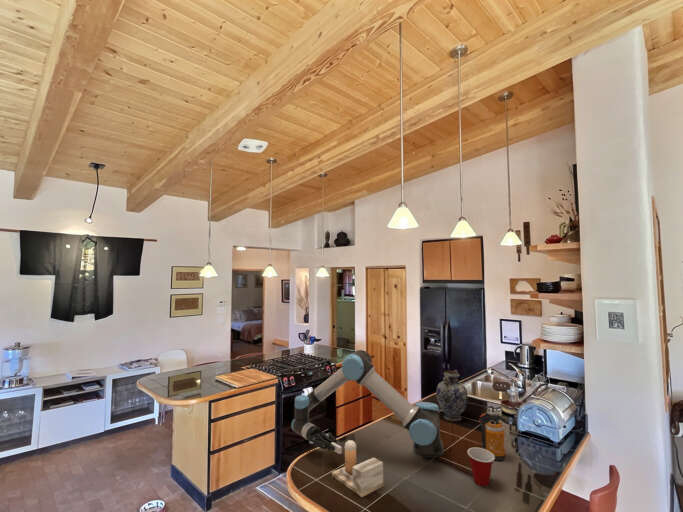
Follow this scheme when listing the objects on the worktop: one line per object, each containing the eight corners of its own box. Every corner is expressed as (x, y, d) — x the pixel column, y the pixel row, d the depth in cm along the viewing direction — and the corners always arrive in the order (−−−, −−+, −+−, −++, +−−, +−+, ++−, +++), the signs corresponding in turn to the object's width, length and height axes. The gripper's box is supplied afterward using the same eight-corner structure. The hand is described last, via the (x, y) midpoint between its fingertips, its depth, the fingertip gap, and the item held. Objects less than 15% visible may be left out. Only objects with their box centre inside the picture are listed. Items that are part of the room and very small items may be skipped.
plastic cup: (488, 493, 141) (487, 462, 142) (463, 482, 149) (462, 453, 150) (500, 482, 148) (499, 453, 149) (476, 472, 156) (474, 444, 157)
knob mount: (331, 475, 155) (331, 453, 156) (352, 466, 163) (352, 445, 163) (361, 497, 140) (361, 472, 140) (383, 485, 147) (382, 462, 148)
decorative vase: (443, 409, 231) (442, 365, 233) (472, 415, 220) (471, 370, 222) (431, 420, 214) (430, 373, 215) (462, 427, 203) (461, 378, 204)
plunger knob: (342, 472, 155) (342, 440, 156) (351, 468, 158) (351, 436, 159) (350, 477, 151) (349, 444, 152) (359, 473, 154) (358, 441, 155)
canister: (507, 462, 164) (506, 418, 166) (482, 460, 166) (481, 416, 168) (503, 453, 173) (501, 411, 174) (479, 451, 175) (477, 409, 177)
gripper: (322, 437, 183) (351, 454, 164) (301, 444, 175) (329, 463, 156) (322, 422, 183) (351, 438, 165) (301, 429, 175) (328, 446, 157)
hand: (340, 450), depth 160 cm, fingers closed
